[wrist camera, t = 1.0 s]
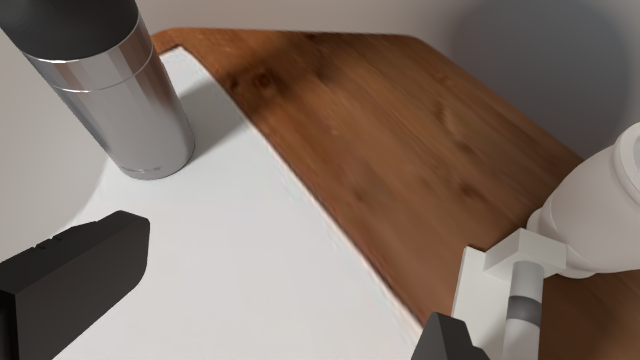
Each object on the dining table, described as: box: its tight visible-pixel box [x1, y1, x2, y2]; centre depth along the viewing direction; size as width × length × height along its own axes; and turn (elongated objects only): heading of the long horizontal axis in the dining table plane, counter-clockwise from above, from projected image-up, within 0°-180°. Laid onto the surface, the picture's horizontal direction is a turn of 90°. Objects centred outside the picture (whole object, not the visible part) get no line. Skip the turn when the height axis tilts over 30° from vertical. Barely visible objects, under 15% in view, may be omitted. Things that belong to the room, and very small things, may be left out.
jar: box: [526, 122, 640, 279], centre depth 32 cm, size 11×10×15 cm
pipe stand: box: [451, 228, 567, 360], centre depth 29 cm, size 21×6×8 cm, turn 158°
